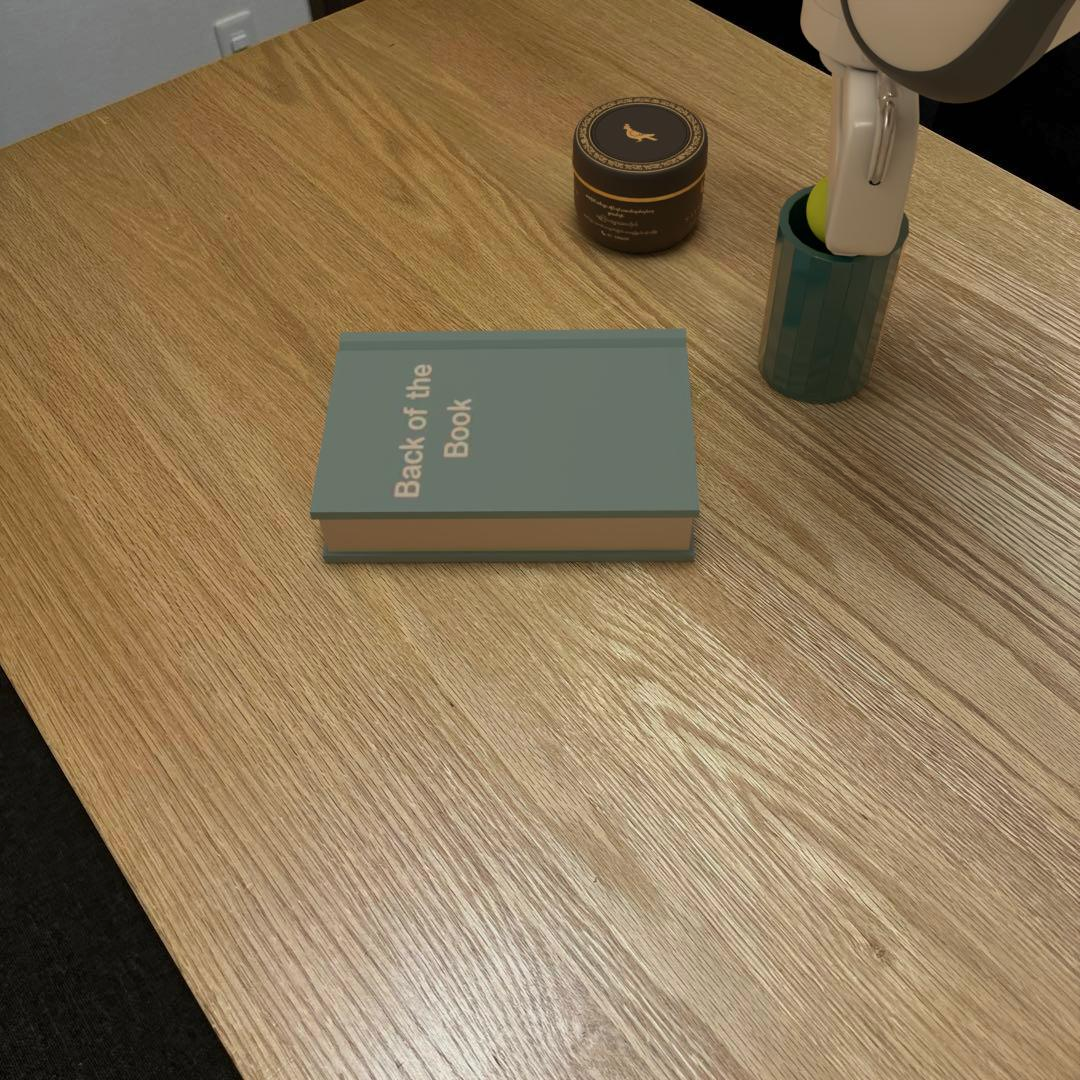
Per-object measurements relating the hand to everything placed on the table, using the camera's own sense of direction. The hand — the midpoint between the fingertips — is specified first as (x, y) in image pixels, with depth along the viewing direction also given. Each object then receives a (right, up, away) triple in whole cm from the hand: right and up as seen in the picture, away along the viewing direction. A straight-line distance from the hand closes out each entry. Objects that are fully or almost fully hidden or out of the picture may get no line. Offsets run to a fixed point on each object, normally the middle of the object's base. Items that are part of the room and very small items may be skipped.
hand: (845, 216), depth 72 cm
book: (-20, -15, +5) cm, 26 cm away
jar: (-11, +5, +20) cm, 23 cm away
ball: (0, 0, 0) cm, 1 cm away
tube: (0, -7, +10) cm, 12 cm away
